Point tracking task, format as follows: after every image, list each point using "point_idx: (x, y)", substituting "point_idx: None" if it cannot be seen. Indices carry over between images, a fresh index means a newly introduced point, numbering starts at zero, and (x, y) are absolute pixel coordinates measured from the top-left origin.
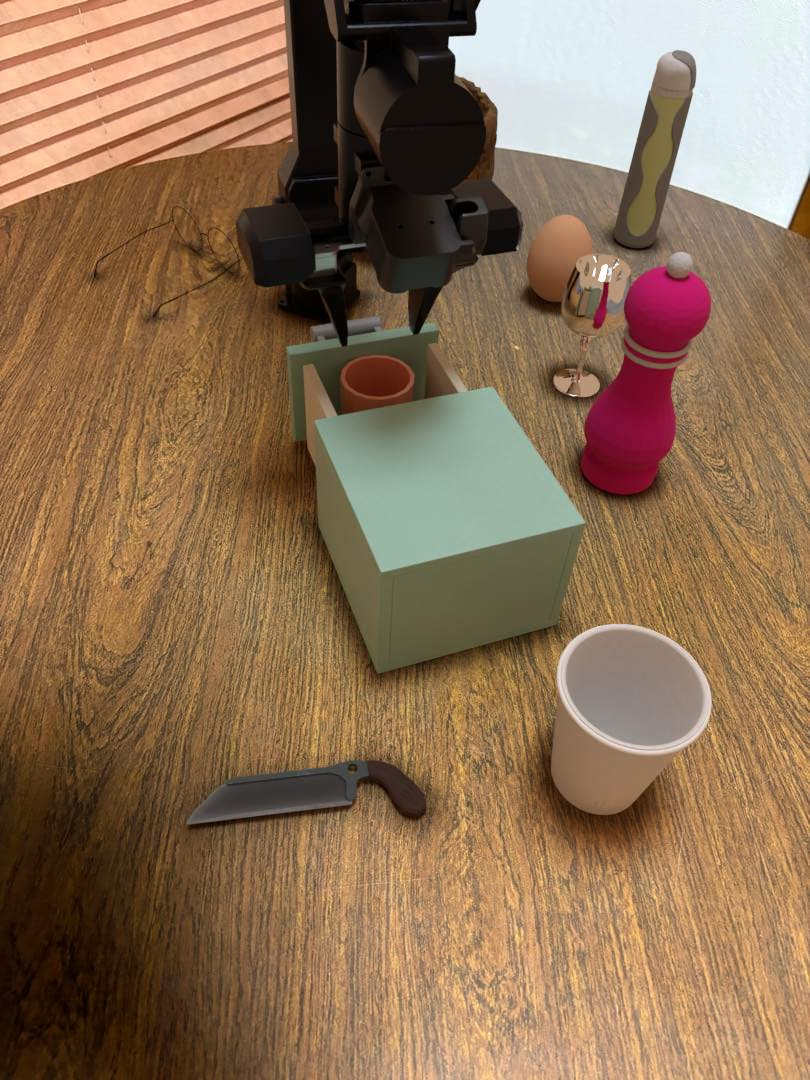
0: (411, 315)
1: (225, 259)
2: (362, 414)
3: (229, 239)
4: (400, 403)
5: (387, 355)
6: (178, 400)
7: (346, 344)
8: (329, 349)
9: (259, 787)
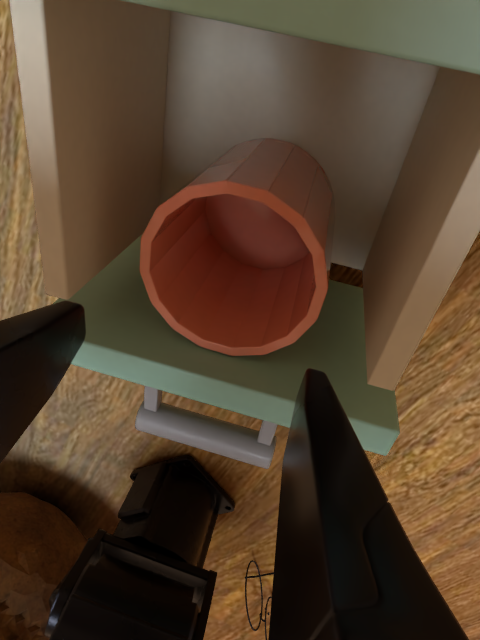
0: (53, 362)
1: (249, 575)
2: (464, 36)
3: (247, 610)
4: (217, 175)
5: (169, 333)
6: (459, 452)
7: (310, 372)
8: None
9: None
